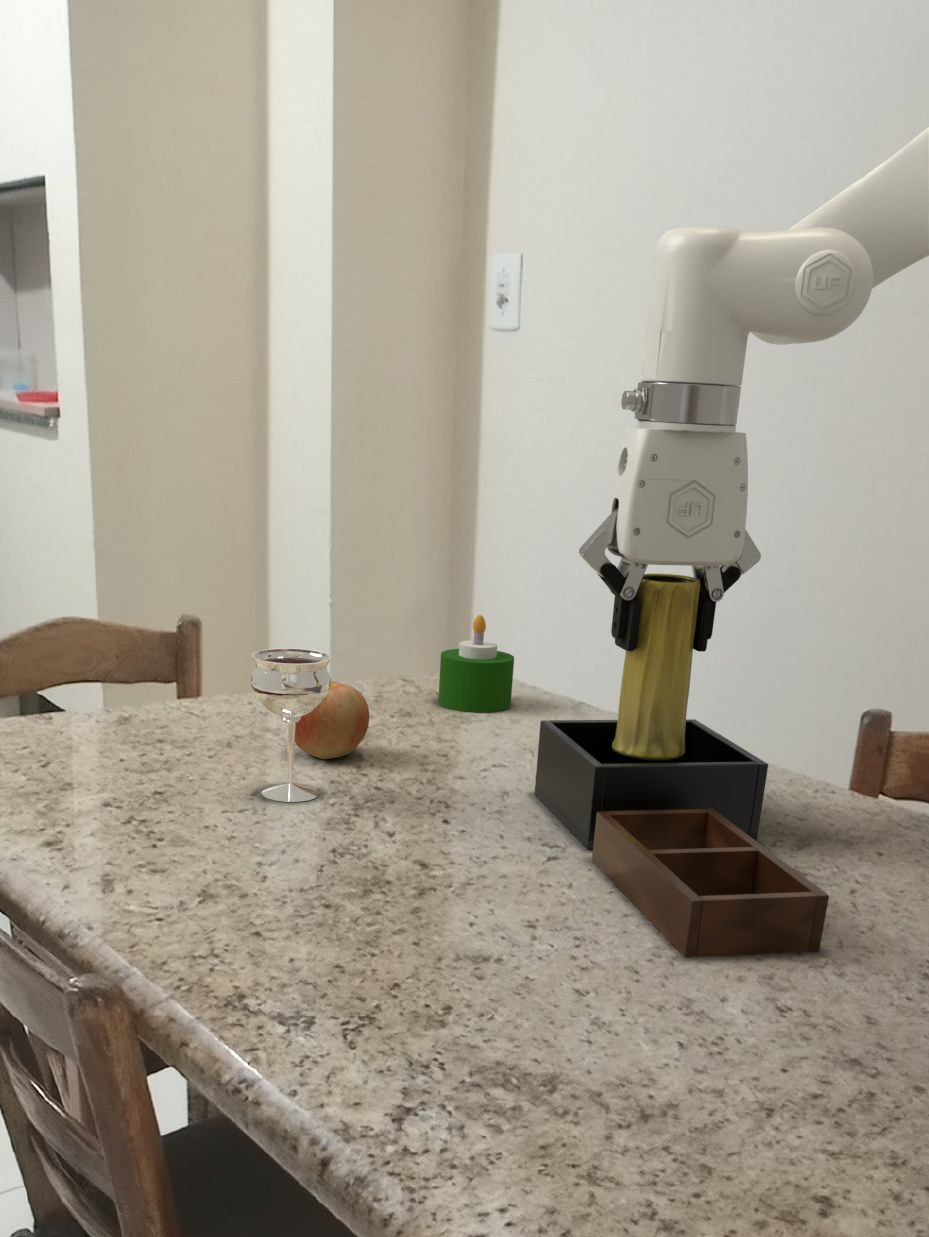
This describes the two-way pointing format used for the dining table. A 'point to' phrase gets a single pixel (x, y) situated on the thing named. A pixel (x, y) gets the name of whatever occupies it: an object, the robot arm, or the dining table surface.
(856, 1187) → the dining table surface
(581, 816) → the black open box
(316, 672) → the wineglass
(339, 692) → the apple
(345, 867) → the dining table surface
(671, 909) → the divided wooden tray
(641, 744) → the vase
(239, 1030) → the dining table surface
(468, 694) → the candle
